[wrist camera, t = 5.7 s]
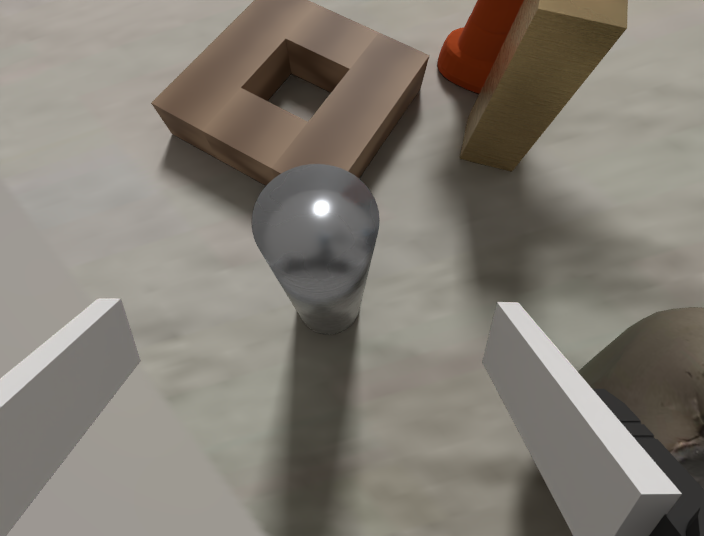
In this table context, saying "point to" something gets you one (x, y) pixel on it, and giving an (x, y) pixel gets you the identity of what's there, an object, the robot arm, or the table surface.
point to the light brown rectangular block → (538, 75)
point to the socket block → (268, 75)
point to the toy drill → (477, 43)
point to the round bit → (318, 241)
